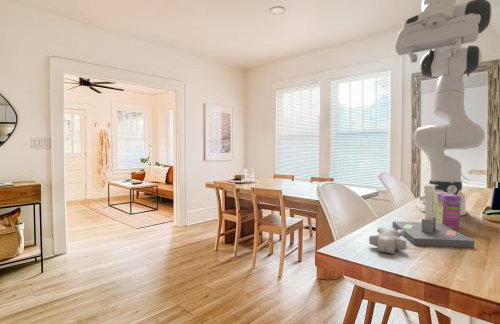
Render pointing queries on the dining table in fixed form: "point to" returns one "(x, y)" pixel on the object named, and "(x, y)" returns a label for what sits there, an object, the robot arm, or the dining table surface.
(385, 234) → the bunny figurine
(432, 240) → the breaker panel
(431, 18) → the robot arm
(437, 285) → the dining table surface
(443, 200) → the box
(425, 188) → the breaker lever
